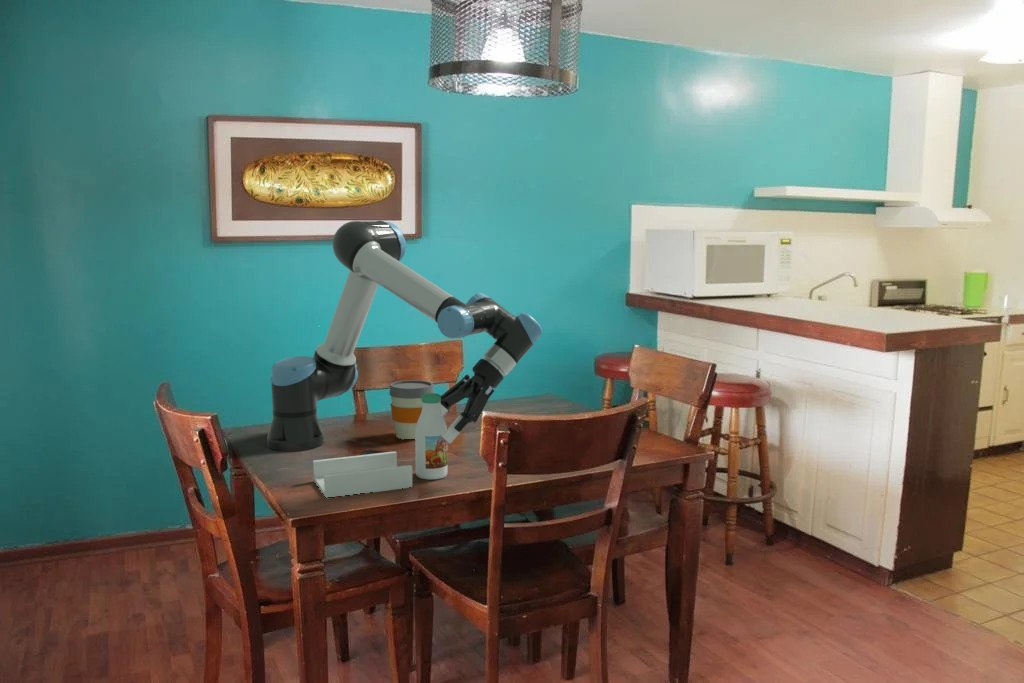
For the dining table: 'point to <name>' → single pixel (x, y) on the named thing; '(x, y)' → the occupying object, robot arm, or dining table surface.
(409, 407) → the reusable coffee cup
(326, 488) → the duct channel
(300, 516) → the dining table surface
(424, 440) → the milk bottle
